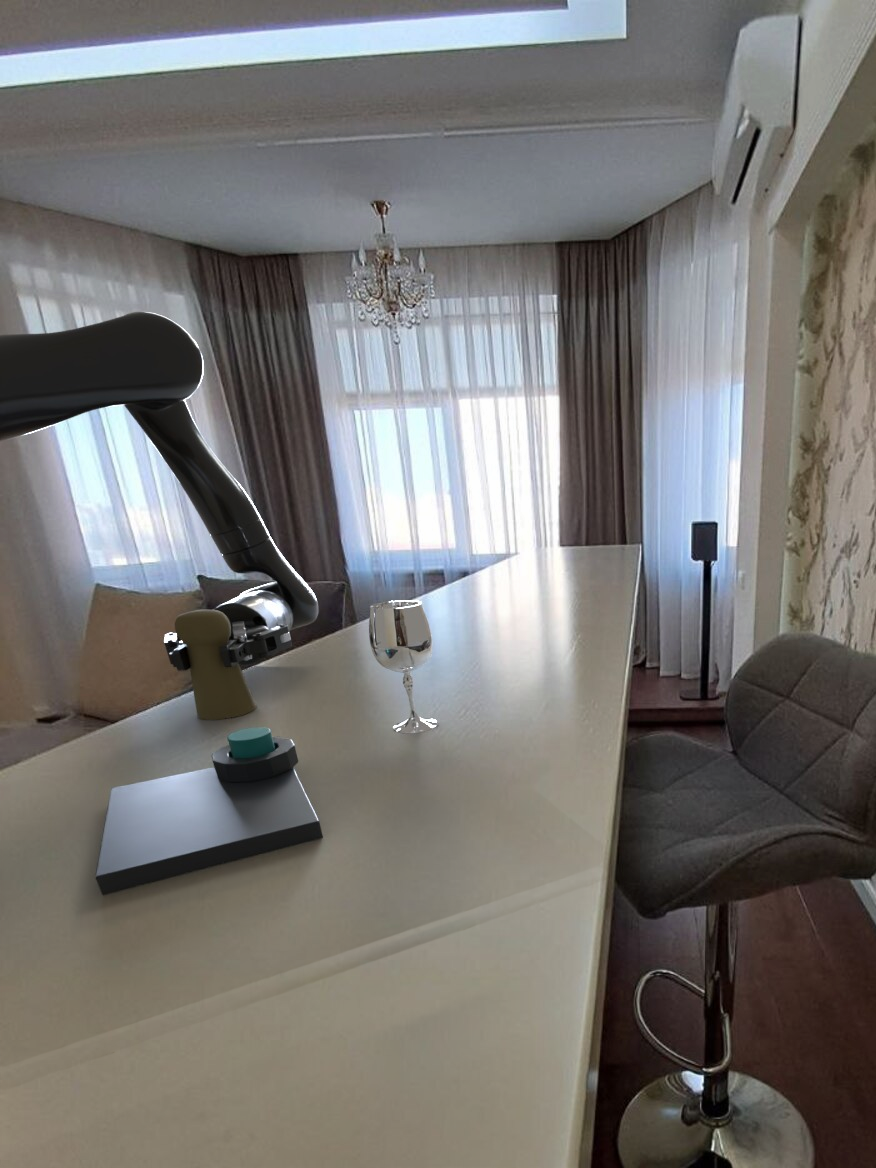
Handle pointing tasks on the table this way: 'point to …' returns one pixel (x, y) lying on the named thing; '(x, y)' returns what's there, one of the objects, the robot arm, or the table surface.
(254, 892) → the table surface
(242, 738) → the button
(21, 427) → the robot arm
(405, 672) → the wineglass
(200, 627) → the cork
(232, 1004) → the table surface
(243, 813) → the scale
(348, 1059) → the table surface
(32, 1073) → the table surface
